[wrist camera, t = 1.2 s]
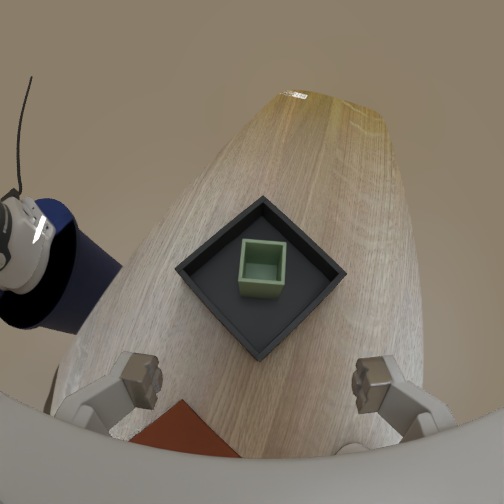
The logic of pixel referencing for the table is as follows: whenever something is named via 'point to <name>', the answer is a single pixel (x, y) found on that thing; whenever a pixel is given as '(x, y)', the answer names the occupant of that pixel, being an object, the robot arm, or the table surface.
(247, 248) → the box
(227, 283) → the bin
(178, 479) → the robot arm
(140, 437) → the mat
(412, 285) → the table surface
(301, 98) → the table surface
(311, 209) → the table surface
